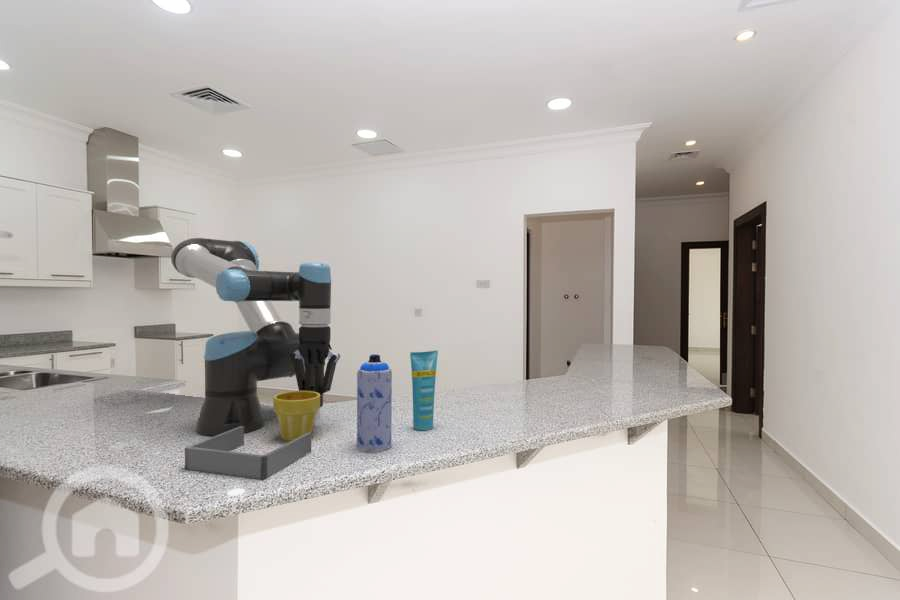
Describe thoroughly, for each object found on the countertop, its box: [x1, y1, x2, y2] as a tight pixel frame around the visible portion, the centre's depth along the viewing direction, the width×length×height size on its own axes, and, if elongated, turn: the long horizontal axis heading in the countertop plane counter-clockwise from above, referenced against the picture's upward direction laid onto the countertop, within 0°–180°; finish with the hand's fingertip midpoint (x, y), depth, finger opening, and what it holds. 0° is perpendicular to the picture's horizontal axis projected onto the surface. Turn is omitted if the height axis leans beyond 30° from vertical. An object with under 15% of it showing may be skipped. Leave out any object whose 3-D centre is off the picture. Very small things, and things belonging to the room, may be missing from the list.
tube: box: [409, 350, 439, 431], centre depth 114 cm, size 7×5×19 cm, turn 123°
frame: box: [184, 426, 312, 481], centre depth 91 cm, size 18×15×4 cm
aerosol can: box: [355, 354, 393, 453], centre depth 100 cm, size 8×8×20 cm
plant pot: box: [272, 390, 321, 442], centre depth 106 cm, size 10×10×10 cm
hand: (314, 420), depth 113 cm, fingers closed
